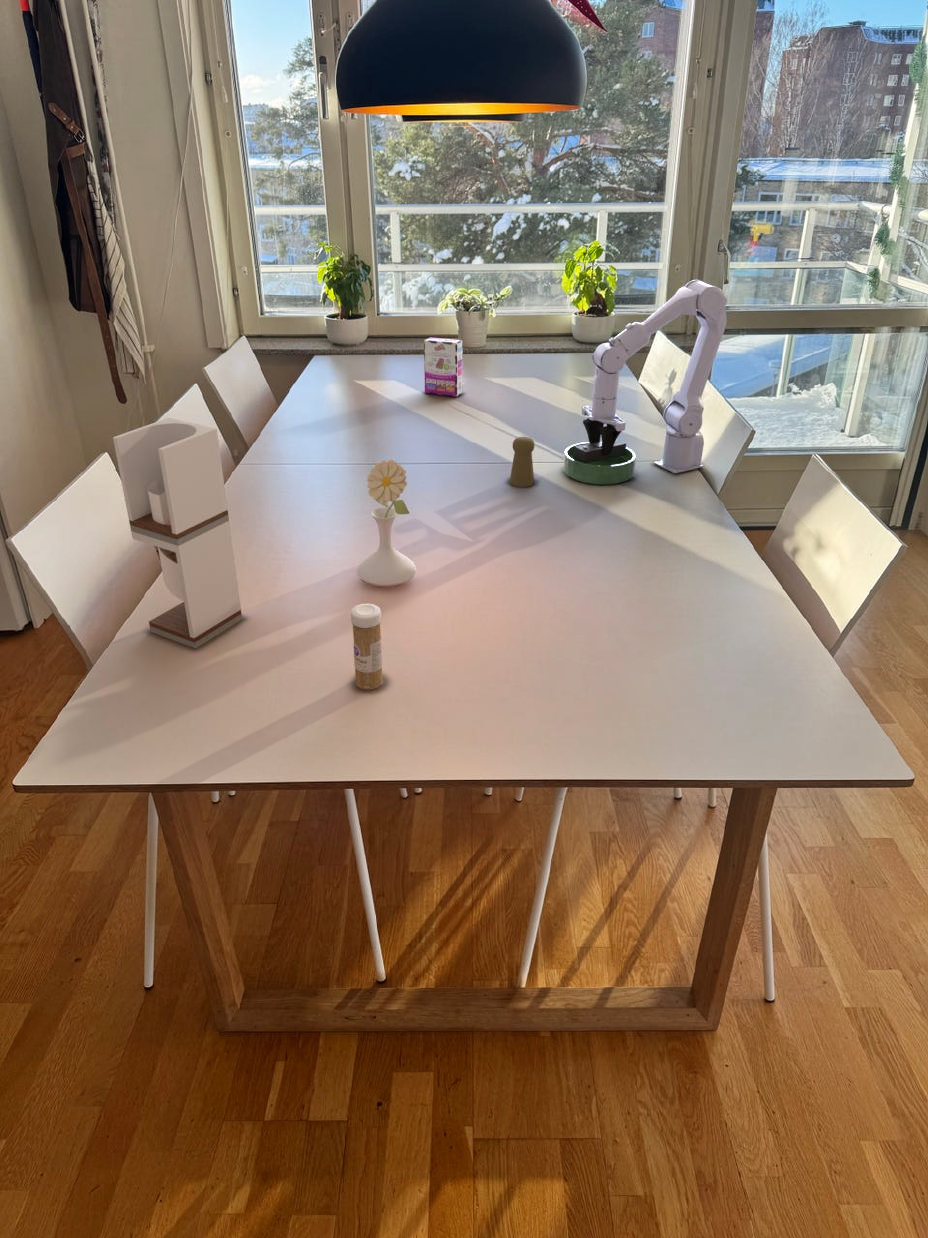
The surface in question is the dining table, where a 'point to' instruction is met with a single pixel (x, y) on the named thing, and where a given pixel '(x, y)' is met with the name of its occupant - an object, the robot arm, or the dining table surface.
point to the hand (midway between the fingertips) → (600, 451)
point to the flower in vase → (386, 528)
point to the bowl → (600, 468)
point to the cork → (522, 462)
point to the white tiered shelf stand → (183, 523)
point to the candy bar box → (443, 366)
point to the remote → (598, 451)
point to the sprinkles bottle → (367, 646)
